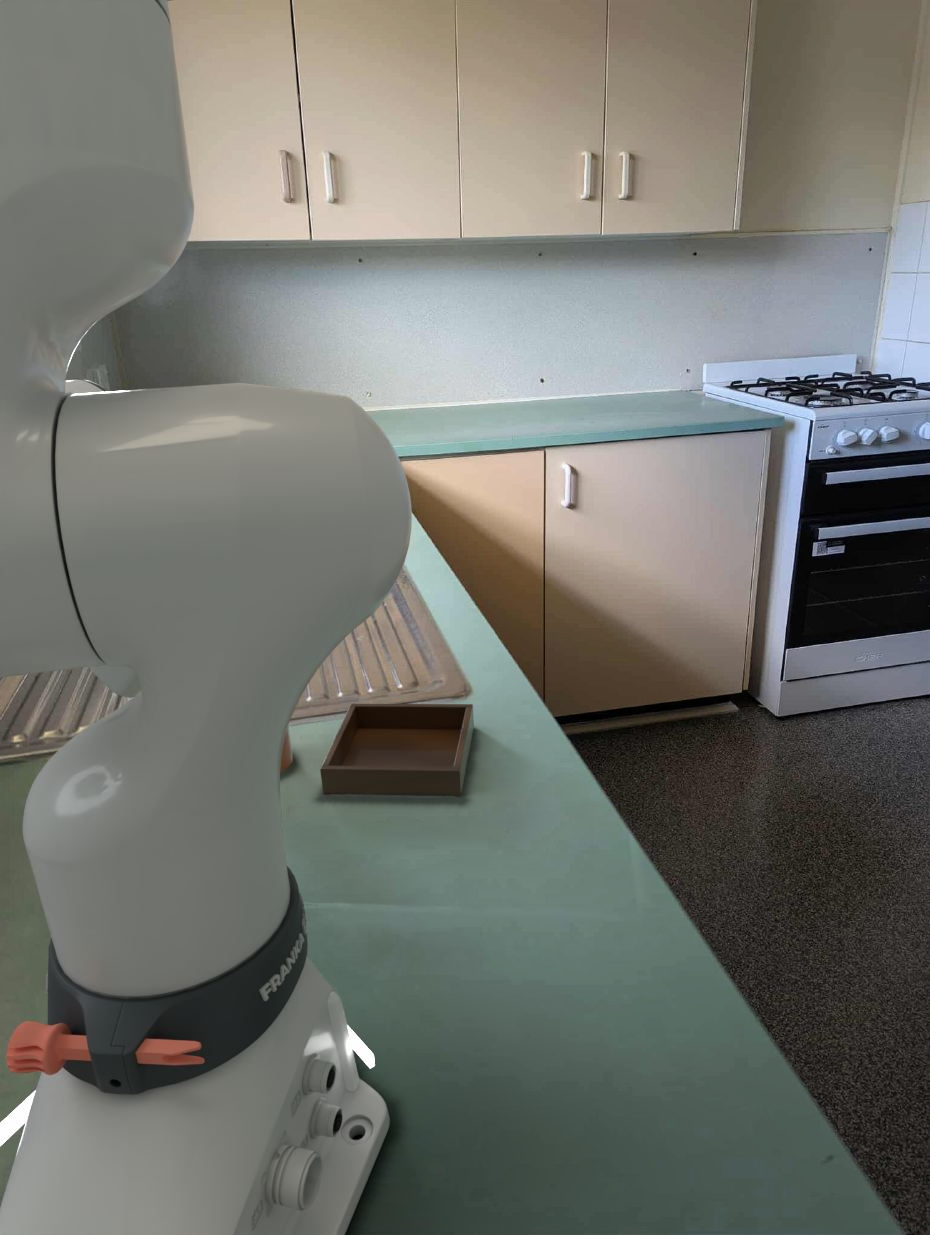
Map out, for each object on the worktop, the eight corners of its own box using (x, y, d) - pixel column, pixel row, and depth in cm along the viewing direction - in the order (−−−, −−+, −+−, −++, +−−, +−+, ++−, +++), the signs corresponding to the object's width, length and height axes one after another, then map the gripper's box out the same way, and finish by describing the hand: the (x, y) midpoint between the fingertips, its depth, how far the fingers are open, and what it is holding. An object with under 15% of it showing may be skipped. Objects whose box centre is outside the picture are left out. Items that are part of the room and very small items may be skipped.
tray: (461, 801, 76) (459, 770, 74) (323, 799, 77) (319, 768, 76) (474, 731, 87) (472, 704, 86) (353, 730, 88) (351, 703, 87)
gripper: (62, 589, 67) (199, 709, 68) (192, 517, 85) (298, 613, 87) (24, 640, 69) (157, 755, 71) (159, 560, 88) (262, 652, 90)
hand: (236, 676), depth 79 cm, fingers open, 8 cm apart
